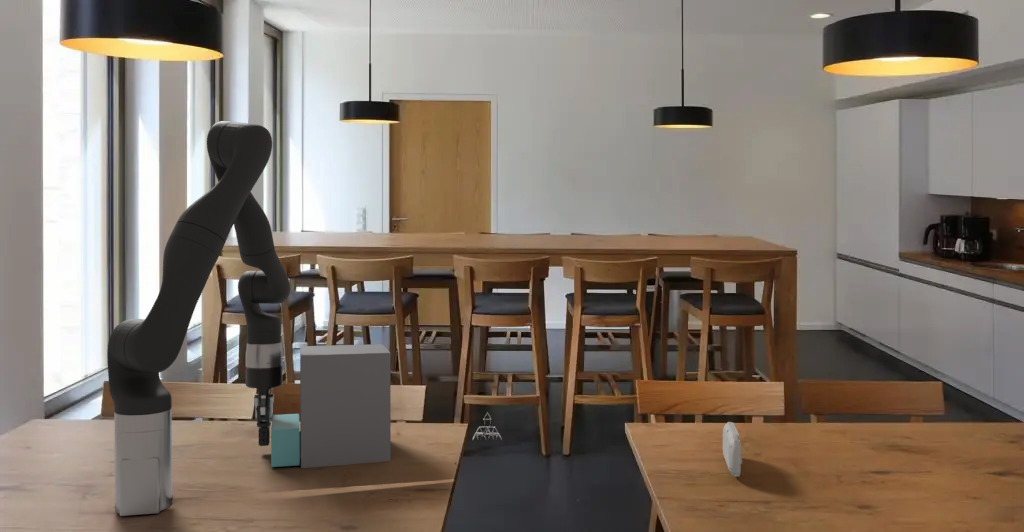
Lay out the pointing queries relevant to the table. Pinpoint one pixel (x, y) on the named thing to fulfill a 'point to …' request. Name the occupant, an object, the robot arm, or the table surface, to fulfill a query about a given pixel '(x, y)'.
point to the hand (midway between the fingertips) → (264, 444)
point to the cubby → (344, 405)
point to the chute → (285, 440)
